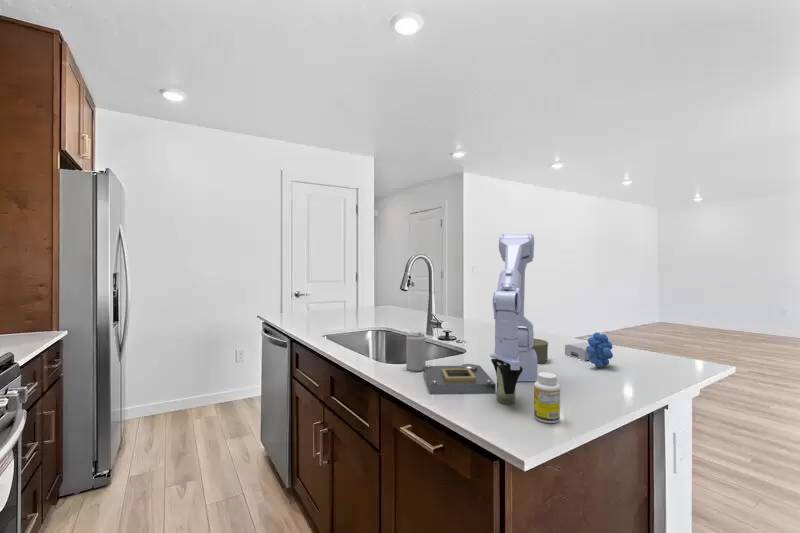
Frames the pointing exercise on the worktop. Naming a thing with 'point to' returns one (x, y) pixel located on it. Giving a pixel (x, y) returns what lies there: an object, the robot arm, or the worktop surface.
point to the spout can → (501, 396)
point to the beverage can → (415, 351)
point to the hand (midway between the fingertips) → (506, 390)
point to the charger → (577, 351)
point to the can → (540, 350)
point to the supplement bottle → (547, 398)
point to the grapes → (599, 350)
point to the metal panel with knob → (458, 379)
